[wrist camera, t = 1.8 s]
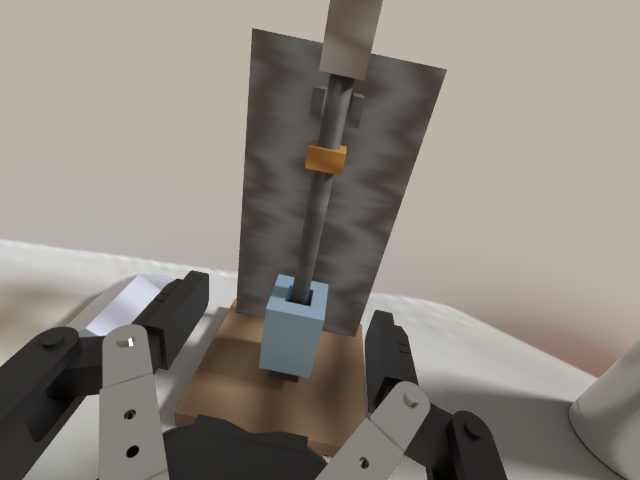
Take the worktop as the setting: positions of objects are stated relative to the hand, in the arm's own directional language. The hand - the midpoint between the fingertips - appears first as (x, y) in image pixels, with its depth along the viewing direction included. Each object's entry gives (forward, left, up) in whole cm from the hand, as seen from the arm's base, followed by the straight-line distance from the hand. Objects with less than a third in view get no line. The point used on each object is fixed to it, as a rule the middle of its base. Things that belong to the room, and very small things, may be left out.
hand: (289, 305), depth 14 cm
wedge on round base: (+23, -6, -21) cm, 32 cm away
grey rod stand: (+4, -10, -21) cm, 24 cm away
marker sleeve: (+4, -10, -17) cm, 20 cm away
